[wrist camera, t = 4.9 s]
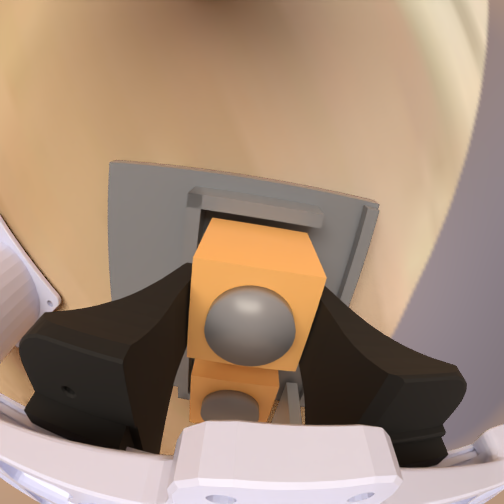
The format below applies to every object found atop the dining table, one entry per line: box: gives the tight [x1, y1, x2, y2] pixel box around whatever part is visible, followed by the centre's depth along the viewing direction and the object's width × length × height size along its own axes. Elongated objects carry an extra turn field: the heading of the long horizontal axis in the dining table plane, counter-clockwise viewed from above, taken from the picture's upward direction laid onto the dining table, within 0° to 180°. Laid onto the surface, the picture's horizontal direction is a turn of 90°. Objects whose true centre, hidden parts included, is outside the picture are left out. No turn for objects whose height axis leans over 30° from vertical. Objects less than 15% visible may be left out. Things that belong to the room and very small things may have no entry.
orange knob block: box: [187, 218, 327, 371], centre depth 11 cm, size 4×4×5 cm
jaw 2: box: [190, 359, 279, 423], centre depth 15 cm, size 4×4×5 cm
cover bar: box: [271, 382, 302, 425], centre depth 18 cm, size 13×3×4 cm, turn 171°
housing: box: [108, 160, 379, 407], centre depth 15 cm, size 14×13×2 cm
